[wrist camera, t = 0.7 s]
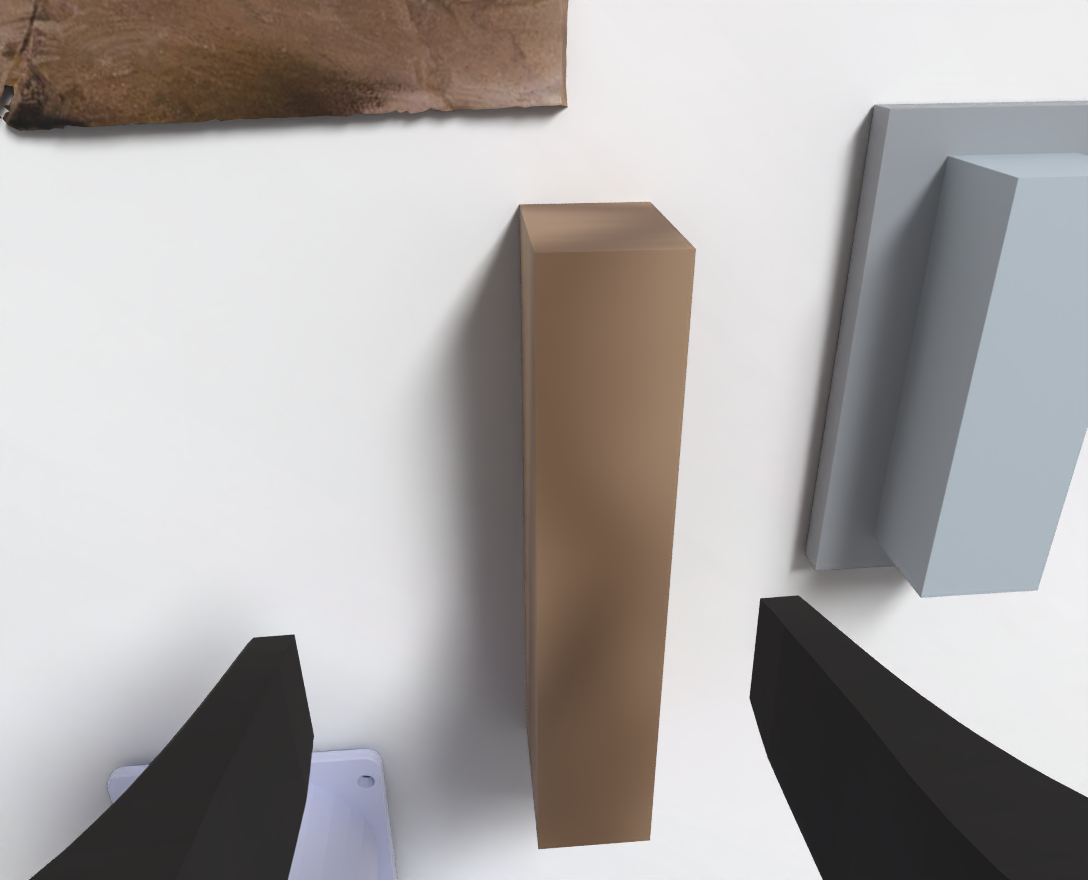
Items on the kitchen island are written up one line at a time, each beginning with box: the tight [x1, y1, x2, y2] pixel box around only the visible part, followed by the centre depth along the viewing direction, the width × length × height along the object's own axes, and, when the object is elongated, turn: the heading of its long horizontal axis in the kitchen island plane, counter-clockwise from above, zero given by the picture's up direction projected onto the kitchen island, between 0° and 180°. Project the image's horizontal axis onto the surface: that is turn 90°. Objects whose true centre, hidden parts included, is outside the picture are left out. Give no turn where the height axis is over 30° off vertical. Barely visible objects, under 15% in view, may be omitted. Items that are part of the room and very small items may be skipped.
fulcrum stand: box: [805, 101, 1088, 598], centre depth 21 cm, size 12×6×4 cm, turn 0°
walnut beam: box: [519, 202, 696, 849], centre depth 22 cm, size 3×16×4 cm, turn 0°
